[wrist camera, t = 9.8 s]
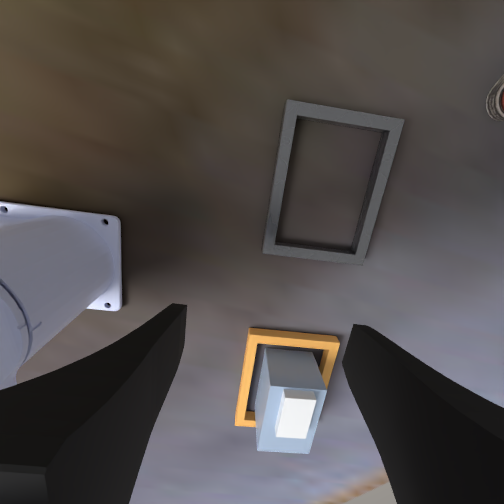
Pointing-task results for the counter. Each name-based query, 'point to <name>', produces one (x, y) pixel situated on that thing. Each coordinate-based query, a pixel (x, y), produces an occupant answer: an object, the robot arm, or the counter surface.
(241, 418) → the orange picture frame
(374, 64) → the counter surface
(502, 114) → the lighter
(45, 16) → the counter surface
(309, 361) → the plug
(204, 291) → the counter surface
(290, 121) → the open gray picture frame
